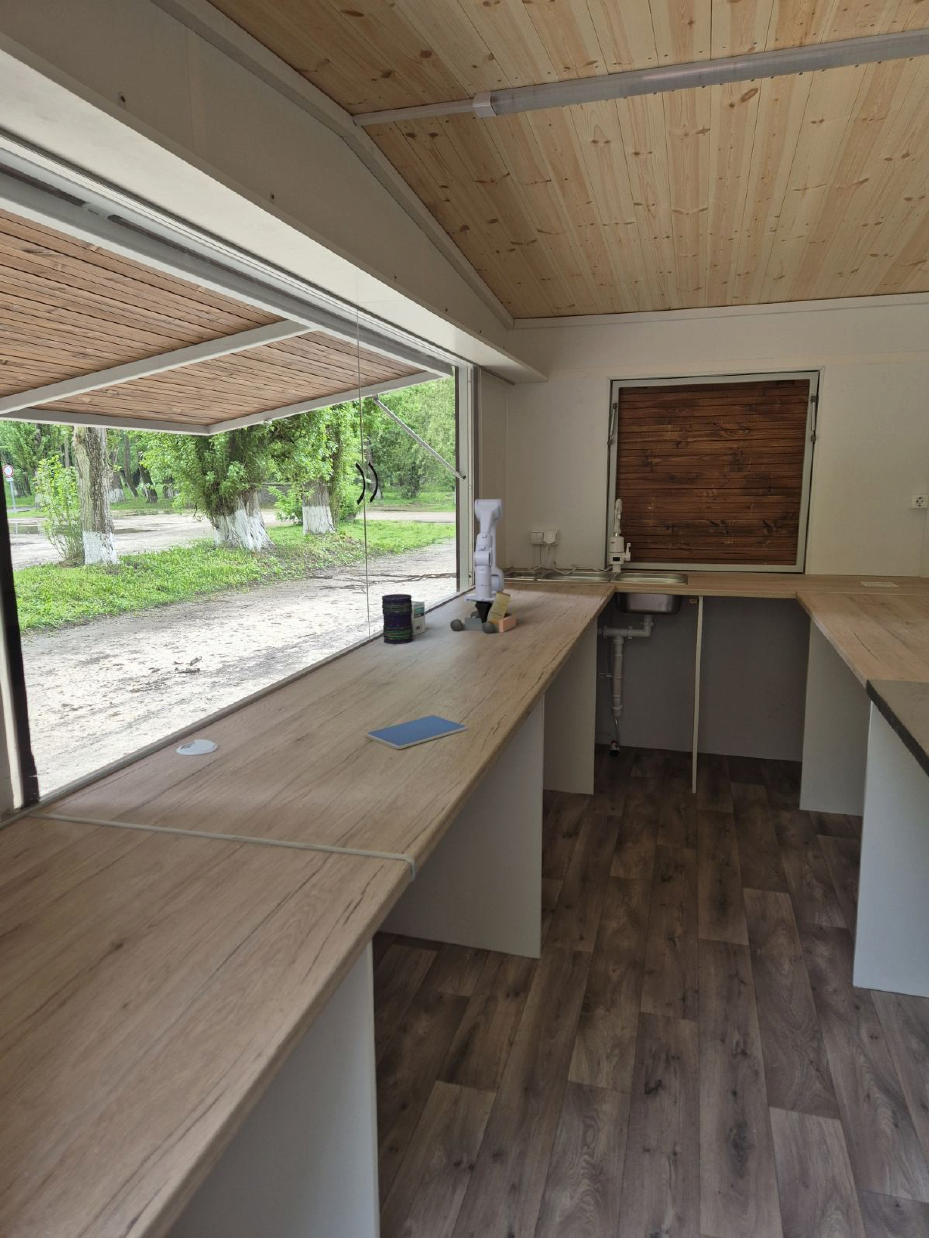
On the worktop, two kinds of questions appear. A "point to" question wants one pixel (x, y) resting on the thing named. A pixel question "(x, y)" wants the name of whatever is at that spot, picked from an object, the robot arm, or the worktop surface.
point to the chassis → (488, 626)
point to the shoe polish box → (498, 607)
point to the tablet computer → (415, 732)
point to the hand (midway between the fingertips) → (484, 622)
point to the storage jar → (397, 619)
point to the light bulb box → (418, 617)
